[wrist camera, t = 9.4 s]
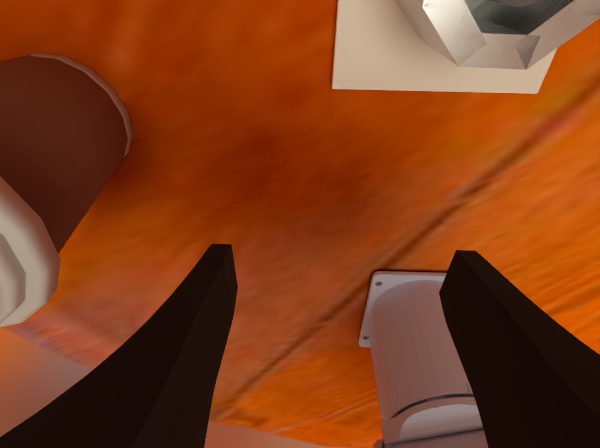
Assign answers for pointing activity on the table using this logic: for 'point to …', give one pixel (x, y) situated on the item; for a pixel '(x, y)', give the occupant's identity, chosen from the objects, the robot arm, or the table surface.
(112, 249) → the table surface
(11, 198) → the coffee cup
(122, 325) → the table surface
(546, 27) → the collar
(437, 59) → the post stand
